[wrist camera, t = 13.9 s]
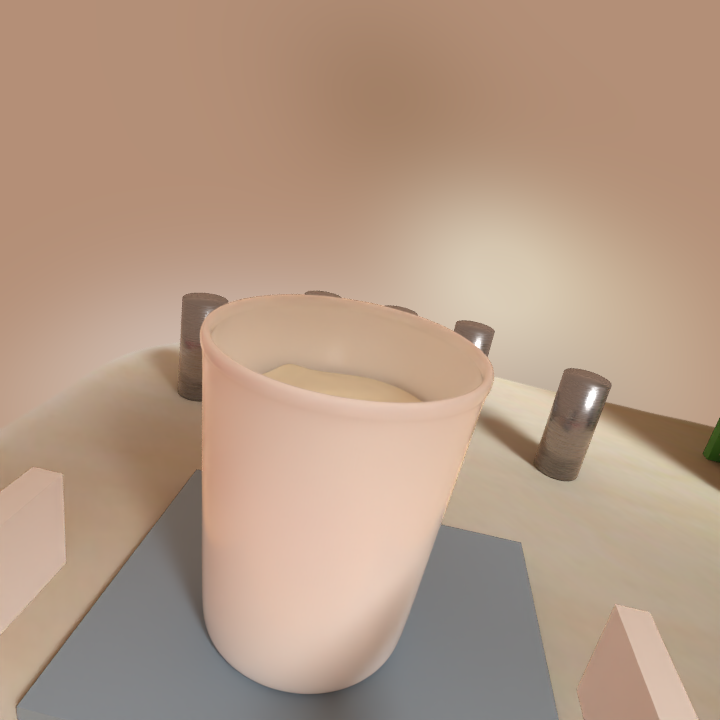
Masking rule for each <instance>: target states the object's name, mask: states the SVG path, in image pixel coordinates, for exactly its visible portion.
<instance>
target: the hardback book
mask: <svg viewBox="0 0 720 720" xmlns="http://www.w3.org/2000/svg"><path fill="white" fill-rule="evenodd" d="M703 455H704V456H705V457H706V459H707V460H712V461H716V462H720V418H719V421H718V422H717V425H716V427H715V429H714V431H713V433H712V435H711V437H710V439H709V442H708V444H707V446H706V448H705V450H704V452H703Z"/></svg>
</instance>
